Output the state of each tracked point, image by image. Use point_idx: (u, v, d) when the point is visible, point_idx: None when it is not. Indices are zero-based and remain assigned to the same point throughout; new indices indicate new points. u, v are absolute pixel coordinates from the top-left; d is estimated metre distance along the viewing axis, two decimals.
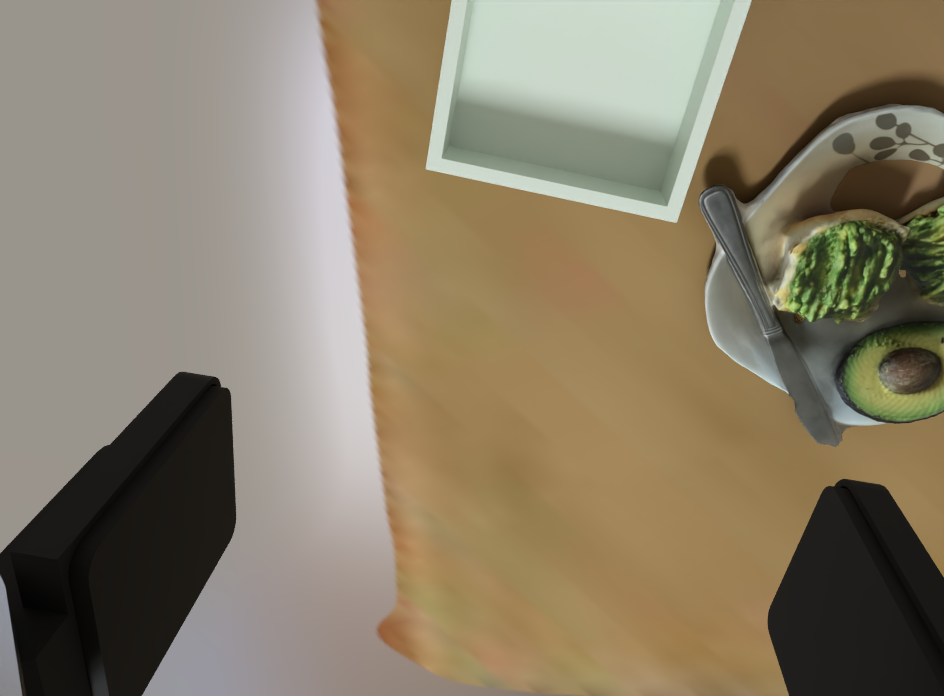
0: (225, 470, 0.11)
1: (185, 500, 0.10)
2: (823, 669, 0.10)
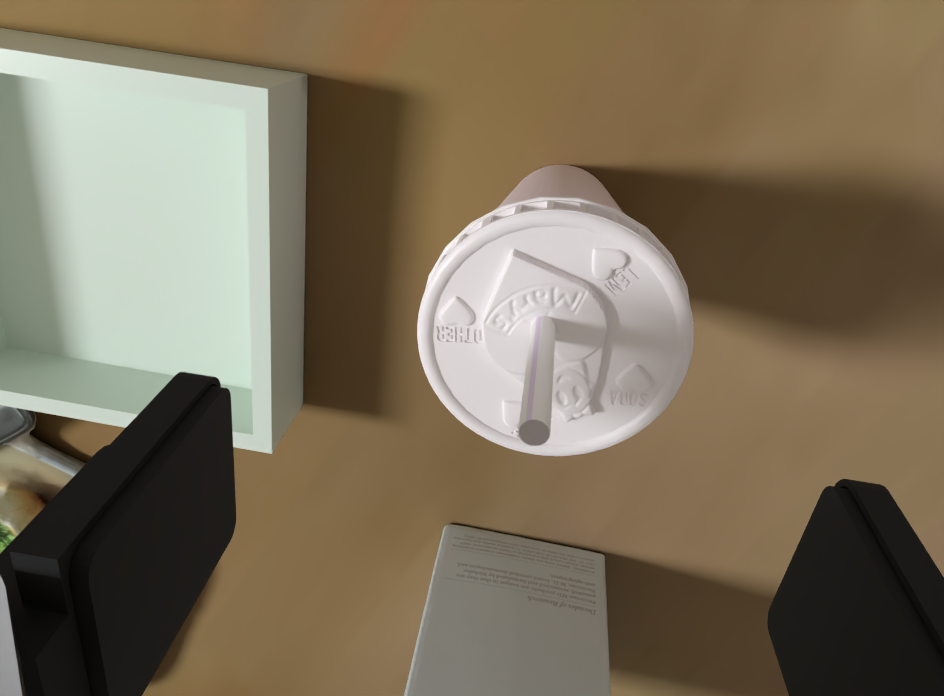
0: (225, 470, 0.11)
1: (185, 500, 0.10)
2: (823, 669, 0.10)
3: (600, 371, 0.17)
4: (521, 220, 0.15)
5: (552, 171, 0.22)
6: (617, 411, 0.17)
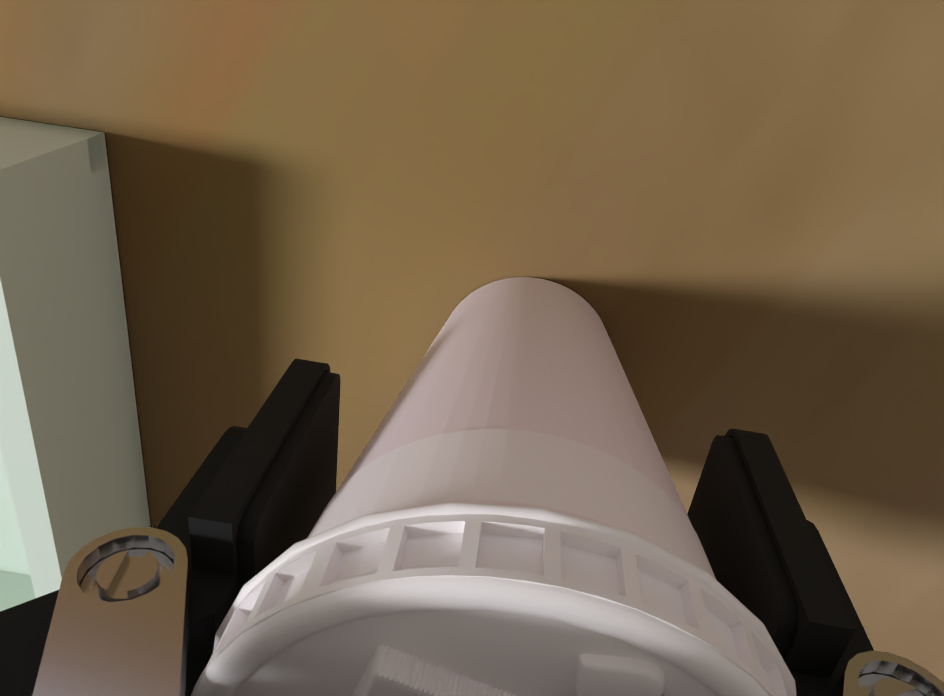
0: (332, 452, 0.12)
1: (309, 477, 0.10)
2: None
3: None
4: (395, 591, 0.06)
5: (508, 302, 0.13)
6: None
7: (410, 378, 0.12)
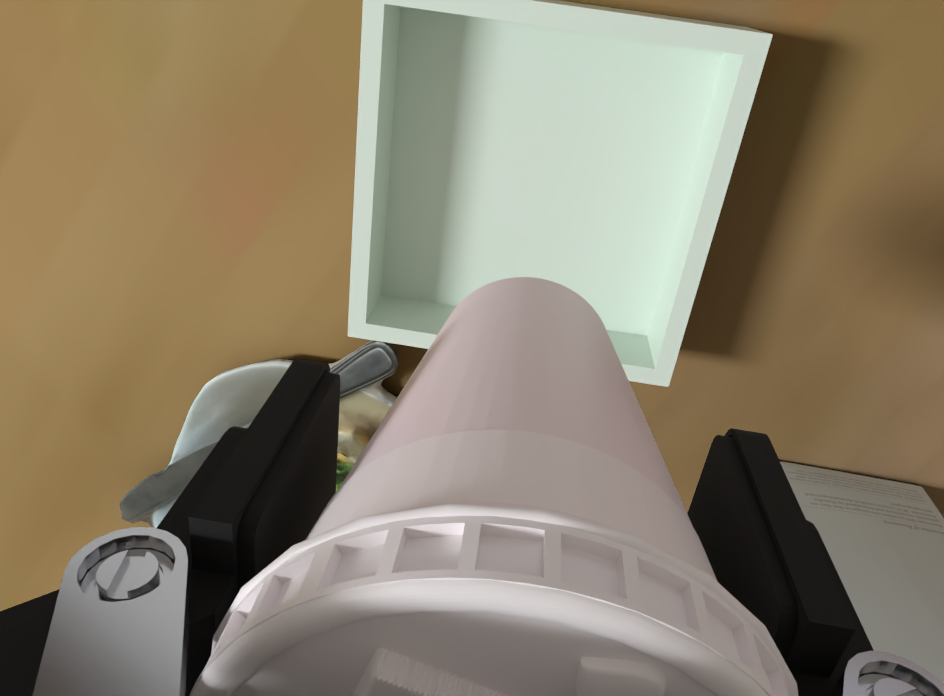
0: (332, 451, 0.12)
1: (309, 476, 0.10)
2: None
3: None
4: (394, 593, 0.06)
5: (508, 303, 0.13)
6: None
7: (410, 378, 0.12)
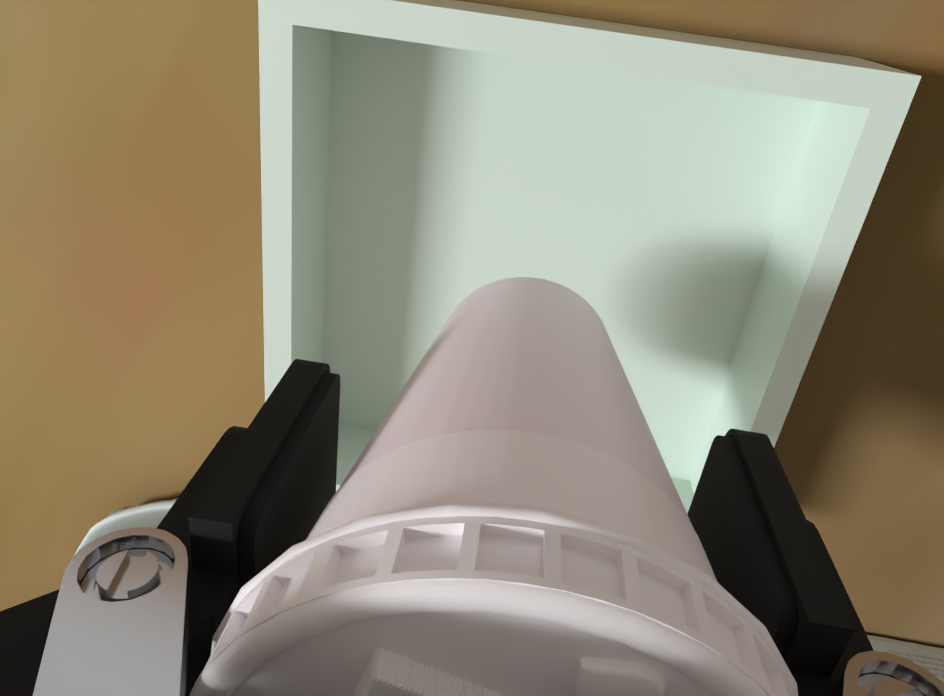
0: (332, 451, 0.12)
1: (309, 478, 0.10)
2: None
3: None
4: (394, 595, 0.06)
5: (508, 303, 0.13)
6: None
7: (409, 379, 0.12)
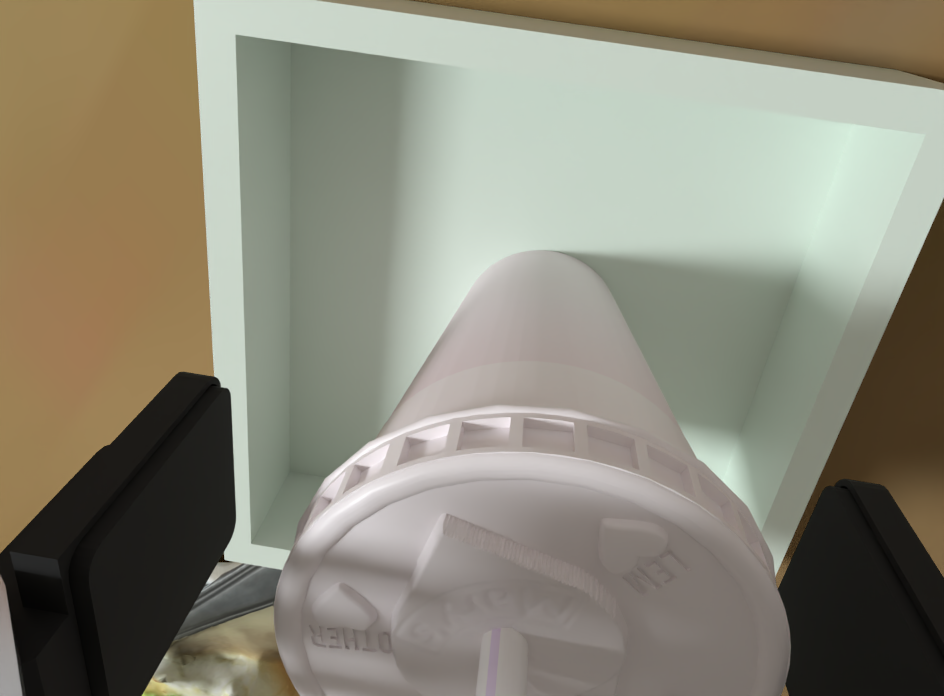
0: (225, 470, 0.11)
1: (185, 500, 0.10)
2: (823, 669, 0.10)
3: None
4: (458, 466, 0.08)
5: (528, 270, 0.15)
6: None
7: (443, 334, 0.14)
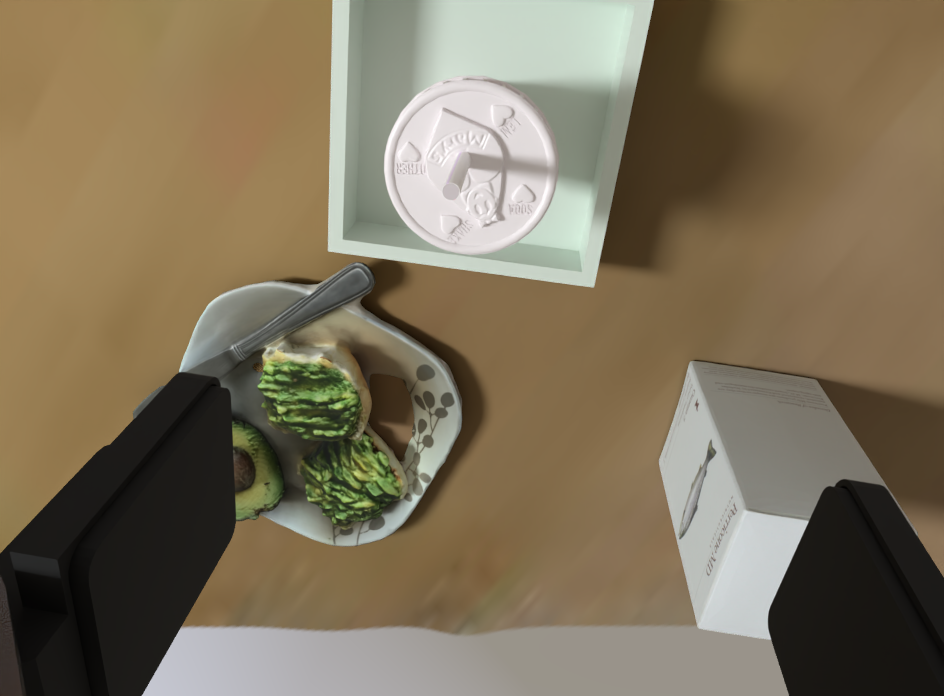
0: (225, 470, 0.11)
1: (185, 500, 0.10)
2: (823, 669, 0.10)
3: (501, 190, 0.26)
4: (447, 87, 0.25)
5: None
6: (514, 219, 0.27)
7: None
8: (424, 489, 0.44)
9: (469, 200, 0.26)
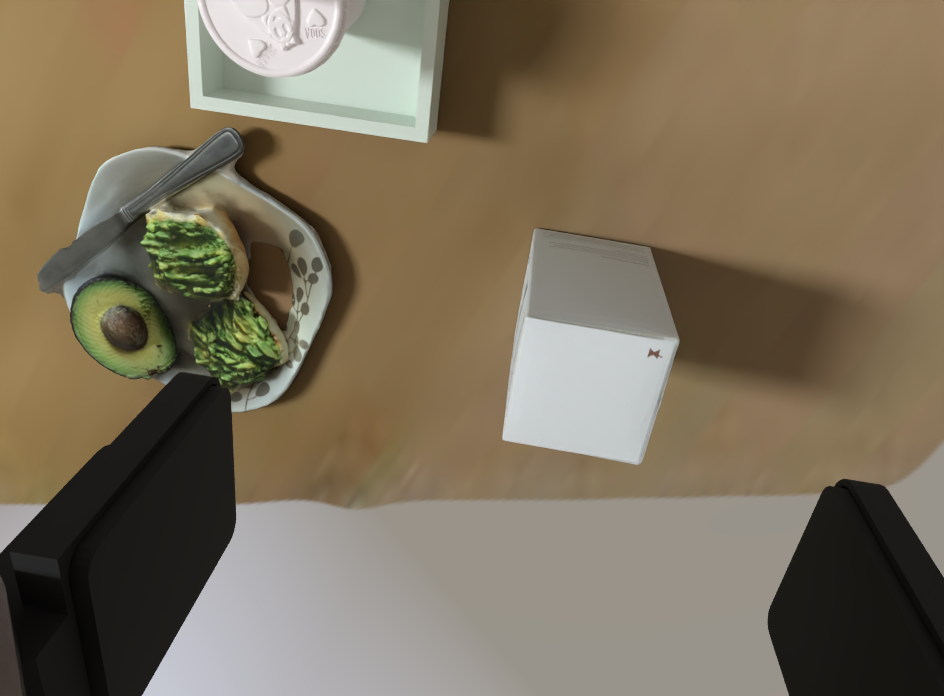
0: (225, 470, 0.11)
1: (185, 500, 0.10)
2: (823, 669, 0.10)
3: (296, 14, 0.30)
4: None
5: None
6: (311, 43, 0.30)
7: None
8: (303, 355, 0.48)
9: (269, 23, 0.30)
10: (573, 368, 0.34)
